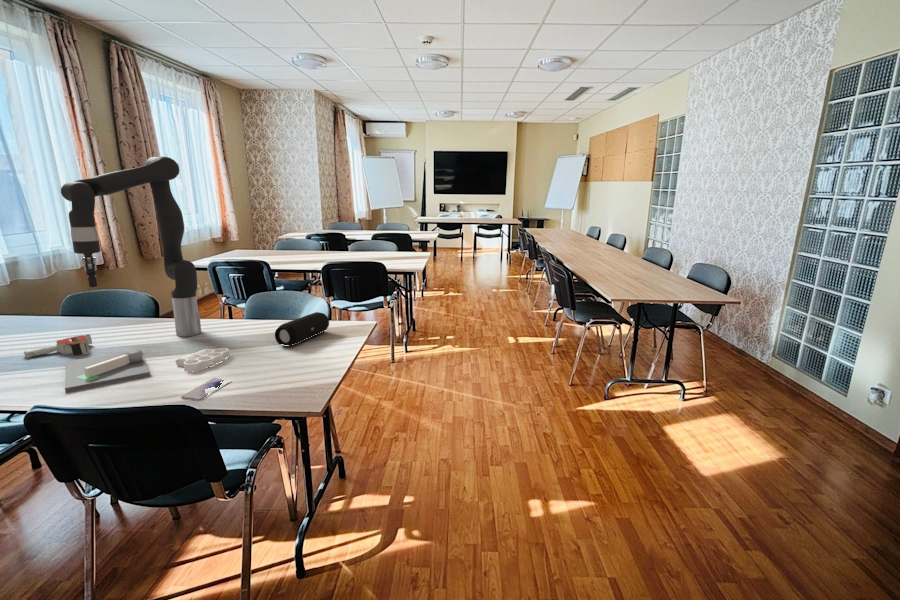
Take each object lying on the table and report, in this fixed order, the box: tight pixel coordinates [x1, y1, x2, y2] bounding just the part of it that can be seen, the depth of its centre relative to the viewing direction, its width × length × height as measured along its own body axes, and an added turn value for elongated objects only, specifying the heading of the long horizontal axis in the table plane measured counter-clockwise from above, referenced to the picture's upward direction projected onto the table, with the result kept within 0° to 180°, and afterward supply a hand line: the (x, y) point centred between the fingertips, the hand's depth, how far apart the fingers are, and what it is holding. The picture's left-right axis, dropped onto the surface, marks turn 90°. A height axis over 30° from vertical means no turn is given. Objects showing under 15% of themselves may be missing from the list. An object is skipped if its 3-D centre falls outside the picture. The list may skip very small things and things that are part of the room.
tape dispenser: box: [23, 334, 93, 359], centre depth 169 cm, size 18×5×20 cm
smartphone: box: [181, 378, 224, 401], centre depth 141 cm, size 7×1×15 cm
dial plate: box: [64, 349, 151, 394], centre depth 153 cm, size 22×28×2 cm
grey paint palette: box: [175, 347, 230, 373], centre depth 162 cm, size 3×18×15 cm
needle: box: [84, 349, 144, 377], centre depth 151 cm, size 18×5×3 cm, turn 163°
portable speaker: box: [274, 311, 330, 345], centre depth 190 cm, size 26×10×10 cm, turn 158°
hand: (93, 286), depth 160 cm, fingers closed
